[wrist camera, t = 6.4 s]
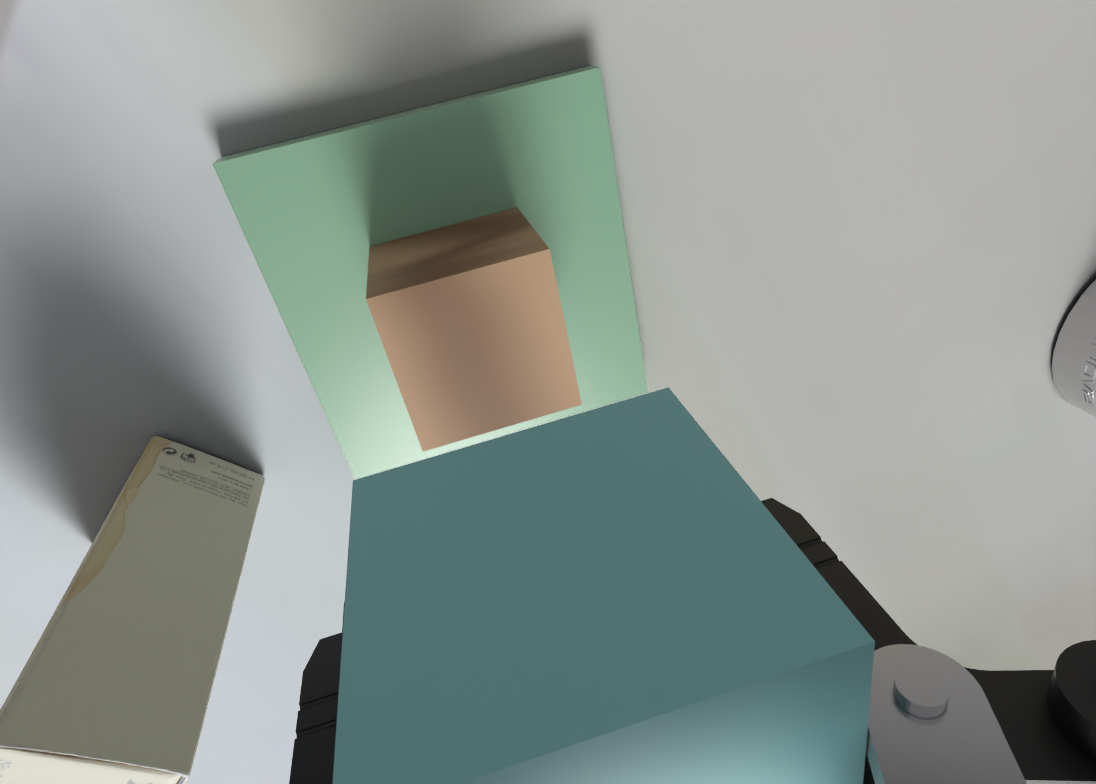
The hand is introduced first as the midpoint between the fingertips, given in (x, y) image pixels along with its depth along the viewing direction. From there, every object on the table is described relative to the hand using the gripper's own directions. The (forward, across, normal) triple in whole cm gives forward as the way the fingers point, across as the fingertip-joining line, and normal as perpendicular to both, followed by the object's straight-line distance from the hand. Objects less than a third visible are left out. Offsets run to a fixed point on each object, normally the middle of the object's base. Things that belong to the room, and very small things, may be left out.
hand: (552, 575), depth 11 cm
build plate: (+15, 0, 0) cm, 15 cm away
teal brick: (0, 0, 0) cm, 0 cm away
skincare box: (+15, +13, +6) cm, 21 cm away
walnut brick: (+14, 0, 0) cm, 14 cm away
